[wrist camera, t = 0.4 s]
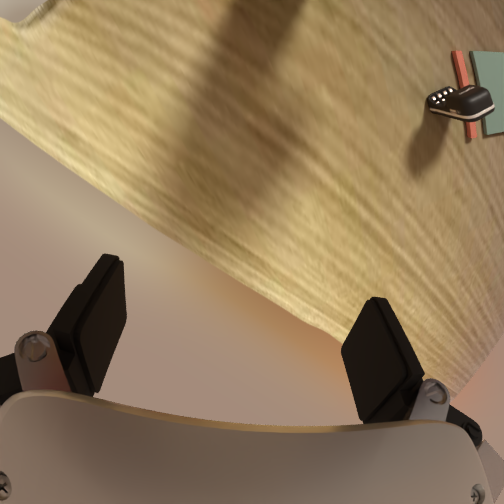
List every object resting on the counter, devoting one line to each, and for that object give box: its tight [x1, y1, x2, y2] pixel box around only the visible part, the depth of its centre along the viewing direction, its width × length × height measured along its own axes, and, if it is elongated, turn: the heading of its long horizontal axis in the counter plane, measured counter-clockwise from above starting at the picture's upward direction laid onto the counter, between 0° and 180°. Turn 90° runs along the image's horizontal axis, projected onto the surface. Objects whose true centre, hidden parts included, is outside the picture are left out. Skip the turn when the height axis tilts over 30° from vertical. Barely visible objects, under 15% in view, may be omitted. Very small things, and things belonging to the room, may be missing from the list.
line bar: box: [452, 51, 477, 138], centre depth 36 cm, size 16×2×1 cm, turn 19°
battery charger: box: [428, 85, 495, 122], centre depth 32 cm, size 7×4×11 cm, turn 123°
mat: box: [470, 51, 504, 135], centre depth 34 cm, size 16×12×1 cm
